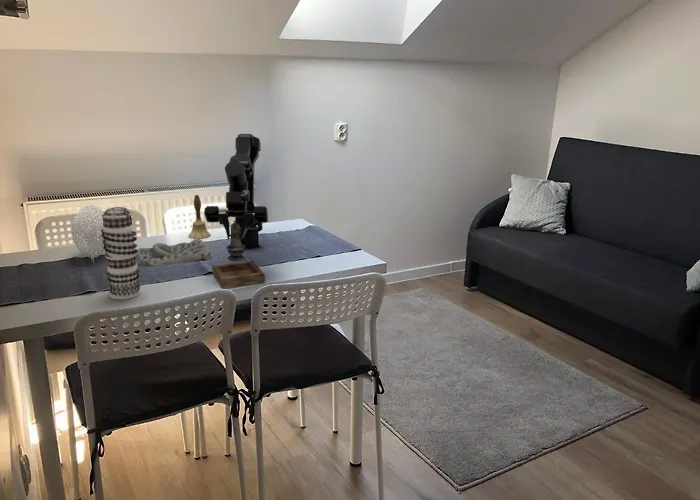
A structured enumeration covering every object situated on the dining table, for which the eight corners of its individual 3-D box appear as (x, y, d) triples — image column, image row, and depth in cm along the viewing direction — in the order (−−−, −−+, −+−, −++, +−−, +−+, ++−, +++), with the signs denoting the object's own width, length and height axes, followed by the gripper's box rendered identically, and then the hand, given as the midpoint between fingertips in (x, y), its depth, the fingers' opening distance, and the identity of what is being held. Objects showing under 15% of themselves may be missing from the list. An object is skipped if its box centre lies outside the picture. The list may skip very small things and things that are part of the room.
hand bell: (210, 238, 227) (208, 197, 222) (187, 239, 225) (185, 197, 220) (210, 232, 235) (208, 192, 230) (188, 233, 233) (186, 193, 228)
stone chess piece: (247, 255, 187) (246, 218, 184) (244, 261, 182) (243, 223, 178) (228, 254, 187) (227, 217, 184) (224, 261, 182) (223, 222, 178)
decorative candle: (100, 296, 171) (90, 211, 163) (123, 286, 179) (114, 203, 171) (126, 301, 168) (117, 214, 160) (148, 290, 176) (141, 207, 168)
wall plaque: (203, 245, 220) (202, 235, 219) (212, 261, 204) (212, 250, 202) (134, 252, 212) (133, 241, 210) (139, 269, 195) (138, 258, 194)
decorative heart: (105, 265, 196) (100, 214, 191) (70, 267, 194) (63, 215, 189) (113, 248, 213) (108, 201, 208) (81, 250, 211) (75, 202, 206)
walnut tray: (253, 269, 195) (252, 260, 194) (264, 282, 183) (264, 273, 182) (212, 274, 190) (212, 265, 189) (222, 288, 178) (221, 279, 177)
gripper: (203, 180, 181) (198, 225, 174) (266, 180, 181) (264, 225, 175) (209, 199, 190) (205, 243, 183) (268, 199, 191) (267, 243, 184)
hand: (235, 238), depth 181 cm, fingers closed on stone chess piece, 3 cm apart
